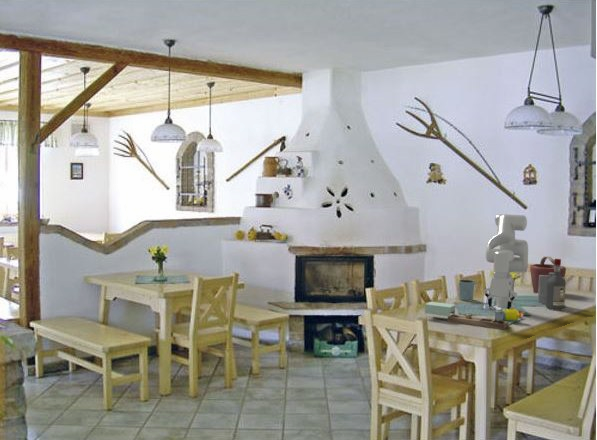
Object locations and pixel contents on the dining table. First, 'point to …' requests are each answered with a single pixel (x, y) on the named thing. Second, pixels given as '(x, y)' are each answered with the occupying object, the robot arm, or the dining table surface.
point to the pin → (499, 317)
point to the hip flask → (543, 287)
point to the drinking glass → (466, 290)
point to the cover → (439, 308)
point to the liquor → (556, 289)
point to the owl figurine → (511, 314)
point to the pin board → (477, 321)
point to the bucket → (543, 271)
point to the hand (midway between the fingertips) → (499, 307)
